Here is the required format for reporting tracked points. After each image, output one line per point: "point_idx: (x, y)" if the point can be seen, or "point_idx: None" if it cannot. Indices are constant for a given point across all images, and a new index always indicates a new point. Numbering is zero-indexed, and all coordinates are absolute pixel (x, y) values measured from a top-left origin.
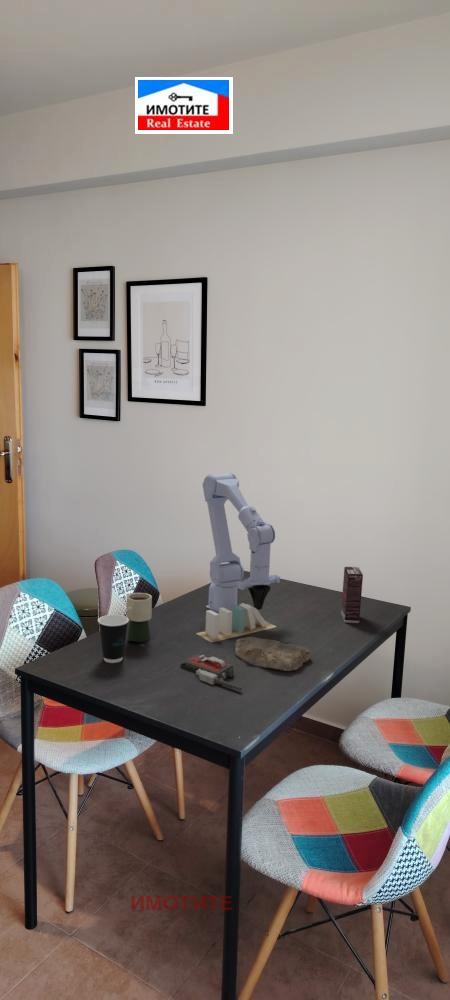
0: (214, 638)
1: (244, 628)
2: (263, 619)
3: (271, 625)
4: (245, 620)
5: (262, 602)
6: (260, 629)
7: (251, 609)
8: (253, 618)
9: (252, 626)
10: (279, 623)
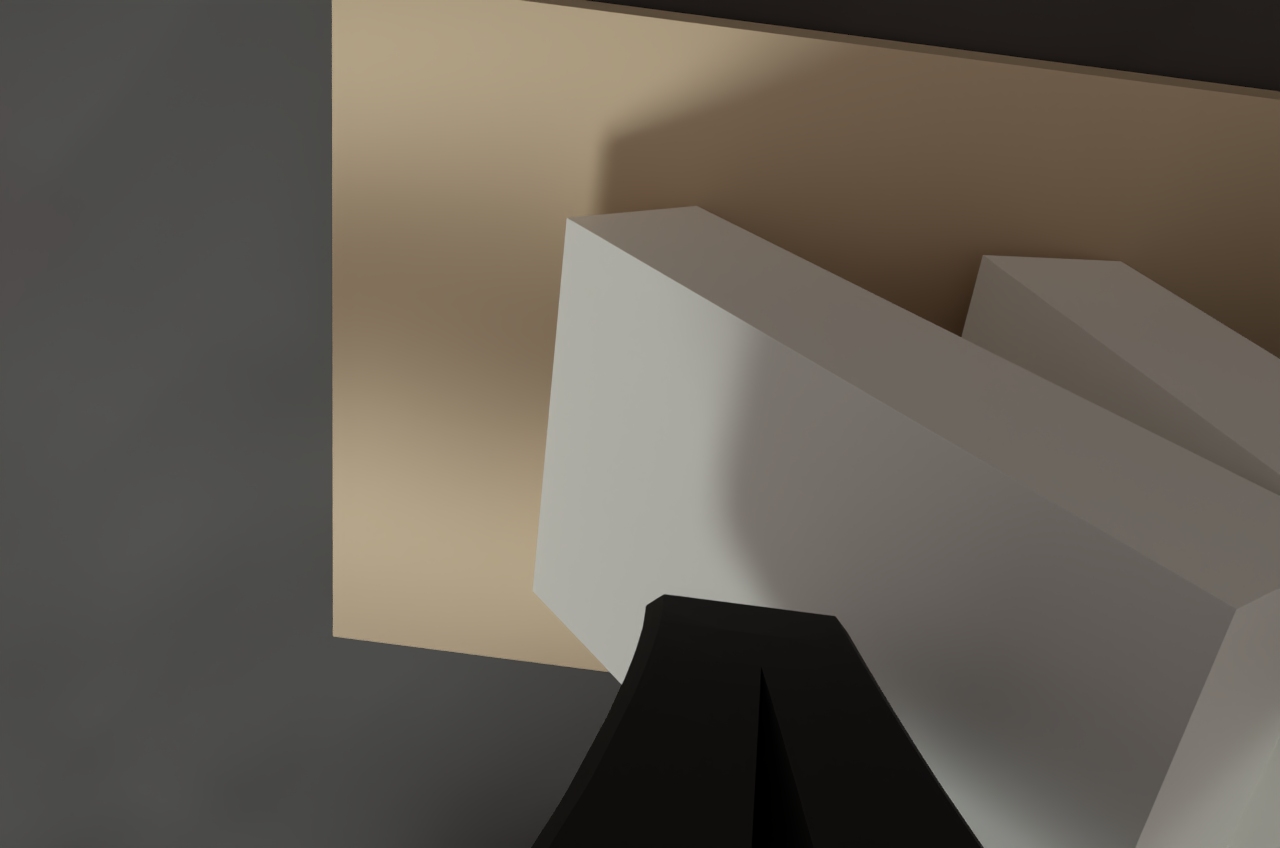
0: None
1: None
2: (703, 285)
3: (404, 155)
4: None
5: (693, 781)
6: (898, 130)
7: None
8: (1193, 394)
9: (1125, 290)
10: (33, 215)
